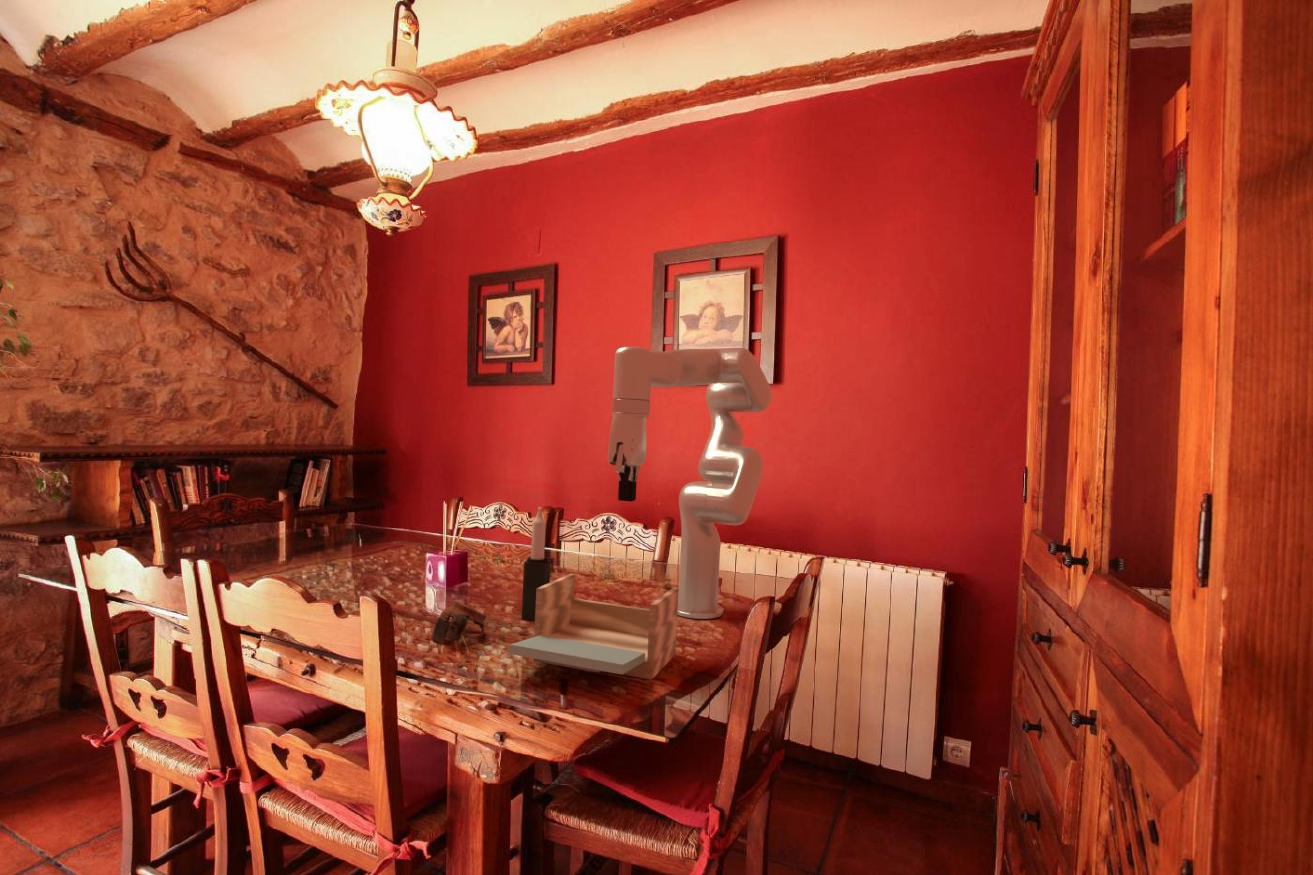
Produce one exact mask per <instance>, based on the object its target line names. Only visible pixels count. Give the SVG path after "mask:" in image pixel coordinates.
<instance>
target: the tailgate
mask: <svg viewBox="0 0 1313 875" xmlns="http://www.w3.org/2000/svg"><path fill="white" fill-rule="evenodd" d="M508 654H510V655H512V656H513V655H515V656H520V657H525V658H528V659H529V658H530V659H533V661H534V662H538V663H546V664H549V665H555V666H562V667H567V668H573V669H578V670H583V671H589V672H594V673H601V672H605V673H606V672H607V673H611V674H618V675H623V674H624V673H626V672H627V671H629V670H631V669H633V668H634V667H636V666H638V665H640V664H641V663H643V662H645V653H644V652H638V651H632V650H626V649H620V648H614V647H608V646H602V645H596V644H591V643H585V642H579V641H573V640H567V639H561V638H555V637H549V636H543V635H539V636H536V637H534V636H533V637H531V638H526V639H524V640H521V641H520V640H519V641H518V642H513V643H511V644H510V645H509V650H508Z"/></svg>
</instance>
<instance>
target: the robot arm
mask: <svg viewBox="0 0 1313 875" xmlns="http://www.w3.org/2000/svg"><path fill="white" fill-rule="evenodd" d="M614 354H615V355H614V367H613V368H614V372H613V374H614V375H613V388H612V389H613V391H612V410H611V415H612V418H611V419H612V420H611V425H610V429H609V430H610V432H609V440H608V447H607V448H608V451H607V464H609V465H610V466H615V469H614V470H615V472H616V473H617V477H618V478H617V480H618V491H617V492H618V493H617V499H618V501H620V502H621V501H622V502H635V501H636V499H637V482H638V475H639V474H638V473H639V471H640V470H641V466H642V465H643V464H645V462H646V459H647V452H648V450H647V448H648V428H647V424H648V423H647V418H650V416H651V414H650V412H651V394H652V393H651V391H652V388H655V389H656V388H659V389H660V388H663V389H664V388H665V389H666V388H670V387H692V386H694V387H695V386H701V385H703V386H704V385H708V386H707V388H706V393H705V398H706V404H707V408H708V412H709V417H710V422H711V428H710V432H709V435H708V438H707V441H706V443H705V446H704V448H703V451H702V453H701V456H700V458H699V463H698V467H697V468H698V474H699V476H700V477H701V479H703V481H700V480H698V481H691V482H688V483H686V484H685V485H684V486H683V487H682V488H681V489H680V492H679V495H678V507H679V508H678V509H679V514H680V525H681V530H680V531H681V532H680V533H681V537H680V538H681V539H680V557H679V558H680V559H679V579H678V588H679V592H678V612H677V616H680V617H683V618H689V619H695V620H710V619H716V618H719V617H721V615H724V610H725V609H724V607H722V606H721V604H718V602H719V600H718V599H719V581H720V580H719V578H720V558H721V537H720V534H719V531H718V529H717V527H716V526H715V524H721V525H727V526H728V525H729V526H739V525H742V524H744V523H745V522H746V521H747V519H748V517H749V515H750V512H751V510H752V507H753V505H754V501H755V498H756V495H757V491H758V489H759V486H760V483H761V480H762V477H763V476H762V475H763V470H764V469H763V466H764V462H763V457H762V455H761V453H760V452H759V451H758V450H757V449H756V448H754V447H750V446H746V445H745V446H744V445H743V446H742V444H743V440H744V434H745V433H744V430H743V427H742V426H741V424H740V422H739V421H738V419H737V417H736V416H735V414H734V413H761V412H764V411H766V410H767V409H768V408H769V406H770V405H771V402H772V391H771V386H770V384H769V381H768V379H767V377H766V375H765V373H764V372H763V369H762V367H761V365H760V364H759V362H758V360H757V359H756V357H755V355H753V353H752V352H751V351H750V350H749V349H747V348H746V347H718V348H711V347H710V348H681V349H680V348H679V349H672V350H665V351H660V350H659V351H656V350H650V349H648V348H646V347H642V346H641V347H640V346H623V347H619V348H618V349H616V351H615V353H614Z"/></svg>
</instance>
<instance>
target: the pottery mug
mask: <svg viewBox="0 0 1313 875" xmlns="http://www.w3.org/2000/svg"><path fill="white" fill-rule="evenodd" d="M486 618H487V616H486V614H484V613H483V612H480V611H478V610H476V609H474V608H472V607H470V606H468V605H467V604H465V603H462V602H460V601H458V600H455V601H453V603H452V605H451V606H448V607H447V608H444V609H443V610H442V612H441V613H440V615H439V616H438V618H437V620H436V622H435V625H434V627H433V632H432V636H431V638H432V639H433V640H434V641H435V642H437V643H439V644H440V645H445V643H446V639H447V640H449V641H450V642H459V641H460V638H461V636H462V634H463V632H464V630H465V629H466V627H467V626H468V621H471V622H473V624H475V625H477V626H479V628H480V629H481V631H480V633H479V638H482V637H483V634H484V632H485V619H486Z"/></svg>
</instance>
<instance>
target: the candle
mask: <svg viewBox="0 0 1313 875" xmlns="http://www.w3.org/2000/svg"><path fill="white" fill-rule="evenodd" d="M542 510H543V508H542V507H541V506H539V507H538V508H537V512H536V516H535V518H534V519H533V521H532V527H531V528H532V529H531V530H532V532H531V549H530V550H531V552H530V556H528V557H527V559H526V560H525V561H524V562H523V575H522V578H523V579H522V596H521V615H520V616H521V620H523V621H530V622H531V621H532V622H535V610H536V589H537V588H539V587H541V586H543V585H545V584H548V583H550V582H551V565H552V564H551V560H550V559H548V557H546V556H545V547H546V546H545V545H546V529H547V528H546V527H547V525H546V524H547V523H546V520H545V519H544V516H543V512H542Z"/></svg>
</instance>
